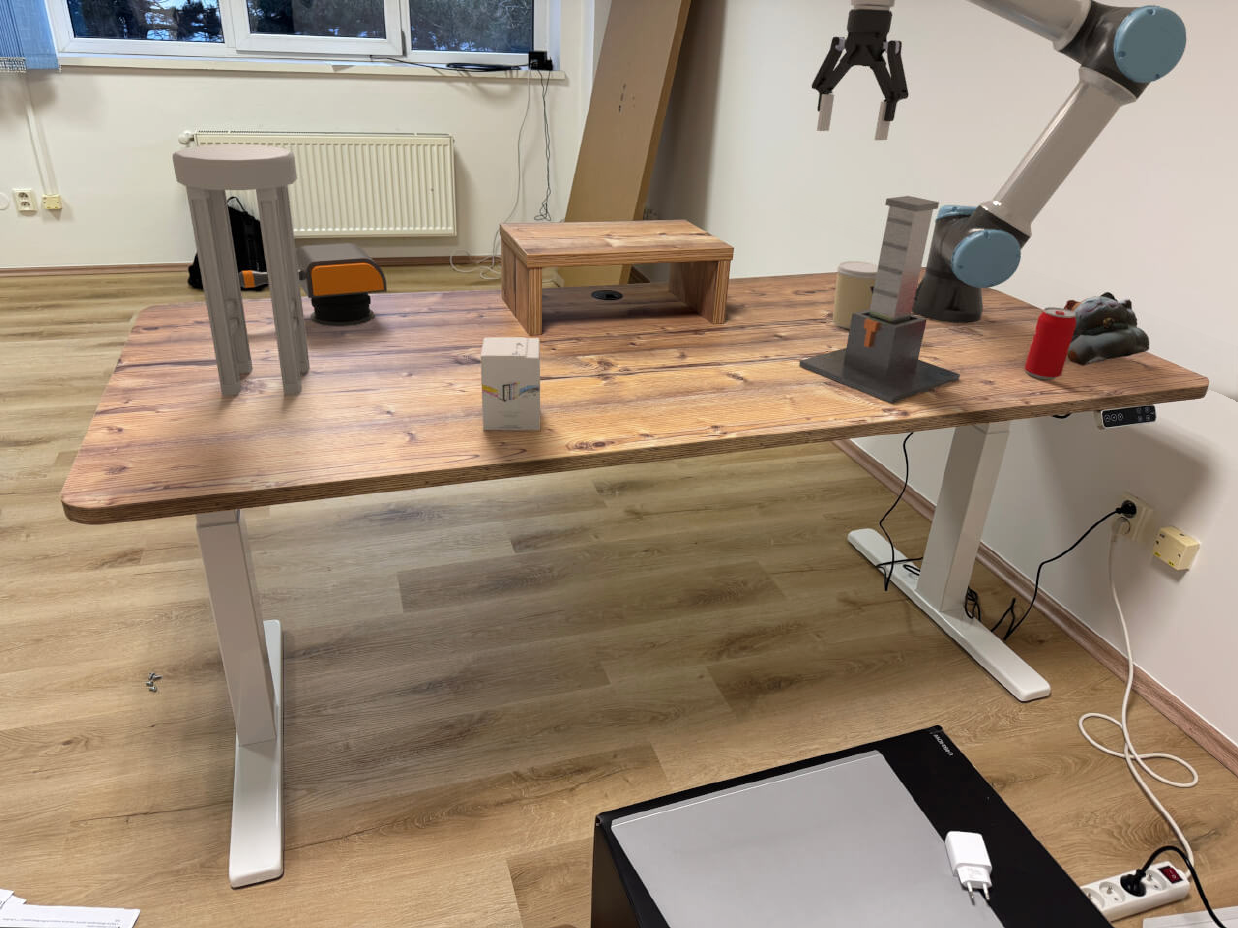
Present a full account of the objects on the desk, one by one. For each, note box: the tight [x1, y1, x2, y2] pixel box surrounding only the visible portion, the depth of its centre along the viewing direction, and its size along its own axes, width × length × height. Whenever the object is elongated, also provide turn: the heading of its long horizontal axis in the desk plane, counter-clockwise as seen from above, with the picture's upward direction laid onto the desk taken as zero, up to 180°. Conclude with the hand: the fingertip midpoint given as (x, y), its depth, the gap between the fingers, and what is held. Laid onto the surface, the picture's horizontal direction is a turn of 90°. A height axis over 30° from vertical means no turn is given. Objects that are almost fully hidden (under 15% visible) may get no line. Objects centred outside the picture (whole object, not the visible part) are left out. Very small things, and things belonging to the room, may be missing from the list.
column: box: [869, 195, 940, 325], centre depth 147 cm, size 6×6×21 cm
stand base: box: [798, 309, 961, 404], centre depth 154 cm, size 20×20×10 cm
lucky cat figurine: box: [1062, 291, 1150, 367], centre depth 167 cm, size 15×12×14 cm
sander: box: [238, 242, 388, 328], centre depth 164 cm, size 15×25×13 cm, turn 117°
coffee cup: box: [832, 260, 878, 330], centre depth 178 cm, size 9×9×12 cm
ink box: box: [480, 336, 541, 431], centre depth 128 cm, size 9×8×12 cm
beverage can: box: [1024, 306, 1076, 380], centre depth 157 cm, size 6×6×12 cm
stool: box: [172, 143, 311, 397], centre depth 131 cm, size 16×16×35 cm
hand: (850, 135), depth 164 cm, fingers open, 13 cm apart
